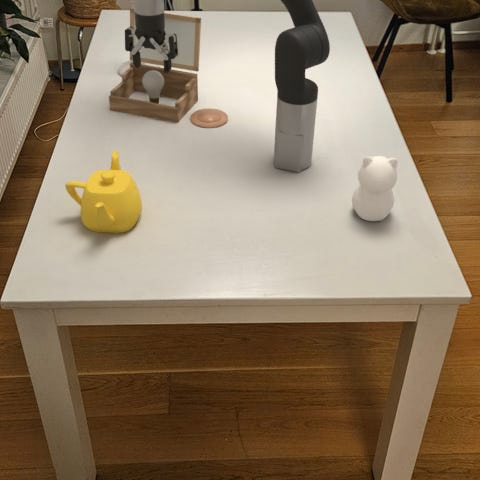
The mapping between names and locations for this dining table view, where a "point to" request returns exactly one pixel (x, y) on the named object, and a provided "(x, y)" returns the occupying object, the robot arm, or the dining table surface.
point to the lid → (186, 42)
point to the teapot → (108, 199)
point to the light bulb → (153, 85)
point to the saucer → (209, 118)
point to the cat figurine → (375, 188)
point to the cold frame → (174, 87)
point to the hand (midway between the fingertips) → (152, 69)
